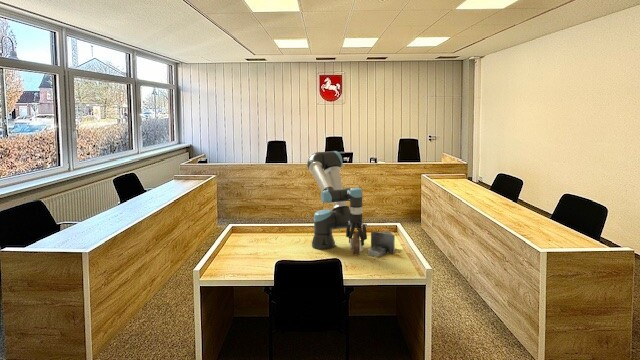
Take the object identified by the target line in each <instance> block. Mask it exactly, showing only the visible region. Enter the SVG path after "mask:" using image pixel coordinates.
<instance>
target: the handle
mask: <svg viewBox="0 0 640 360" xmlns="http://www.w3.org/2000/svg"><path fill="white" fill-rule="evenodd" d="M352 238H353V248H352V252H353V253H352V255H355V256H360V255H361V254H360V253H361V251H360V240H361V239H360V236H359V232H358V230H357V231H355V230H354V232H353V236H352Z"/></svg>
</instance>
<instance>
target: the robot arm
mask: <svg viewBox="0 0 640 360" xmlns="http://www.w3.org/2000/svg"><path fill="white" fill-rule="evenodd" d="M343 164H344V163H343V157H342V155H341V153H340V152H338V150H331V151H316V152H314V153H312V154H311V155H310V156H309V158H308V159H307V165H306V166H307V170H308V172H310V173H311V174H312V176H313V179H314V180H315V181H316V183H317V186H318V187H319V189H320V191H321V192H320V199H321V202H322V203H324V204H330V203H332V206H333V207H332V208H331V209H329V208H328V209H319V210H317V211H316V212H314V214H313V227H314V229H313V230H314V231H313V232H314V234H313V238H312V241H311V247H312V248H313V249H317V250H330V249H332V248H335V247H336V241H335V239H334V236H333V231H334V230H339V229H340V230H341V229H346V230H345V231H346V233H345V237H346V238H348V244H349V249H350V250H353V232H354V231H355V230H356V229H357V231H358V232H359V236H360V252H362V251H364V246H365V241H366V240H367V239H368V234H367V233H368V232H367V226H368V224H367V223H364V222H363V188H361V187H343V182H342V178H341V172H340V171H341V170H342V167H343ZM347 202H349V205H348V204H347Z"/></svg>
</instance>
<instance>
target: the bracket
mask: <svg viewBox="0 0 640 360" xmlns="http://www.w3.org/2000/svg"><path fill="white" fill-rule="evenodd" d="M395 245H396V244H395V234H387V233H382V232H381V231H374V230H370V248H368V249H367V255H368V256H369V257H376V258H381V257H382V256H384V255H386V253H387V254H390V255H394V254H395V252H396V251H395Z"/></svg>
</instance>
